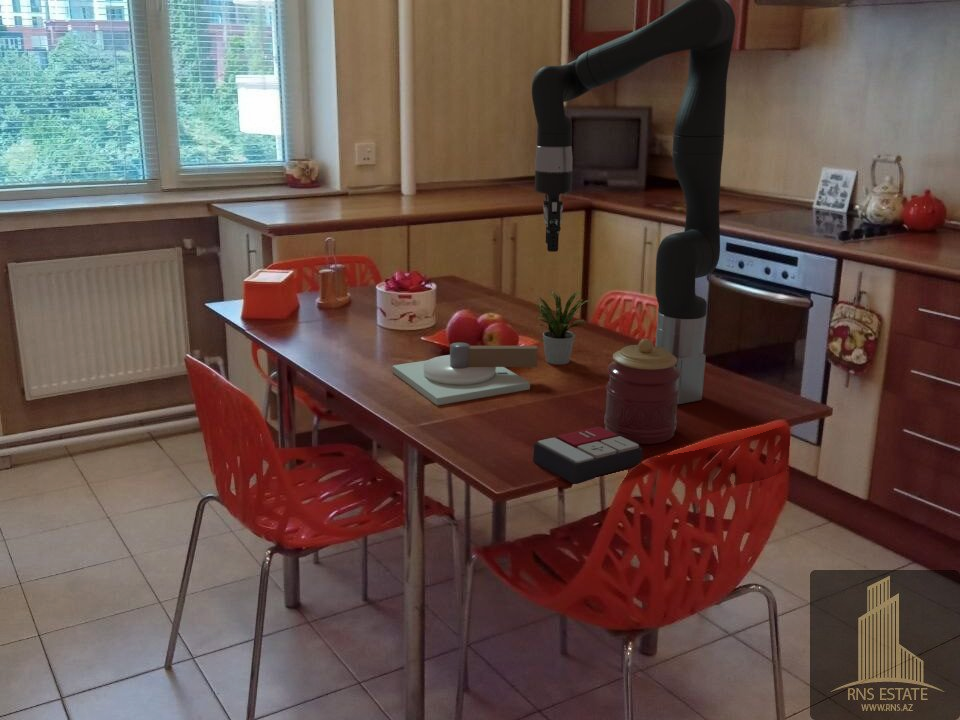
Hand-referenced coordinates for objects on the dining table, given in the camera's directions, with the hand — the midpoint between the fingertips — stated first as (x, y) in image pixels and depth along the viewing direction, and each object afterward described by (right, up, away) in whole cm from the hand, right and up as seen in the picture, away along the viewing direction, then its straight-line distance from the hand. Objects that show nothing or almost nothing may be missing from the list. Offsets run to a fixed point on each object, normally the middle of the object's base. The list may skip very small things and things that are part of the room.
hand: (551, 247), depth 196 cm
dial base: (-19, -28, 0) cm, 34 cm away
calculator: (+3, -41, -37) cm, 56 cm away
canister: (+14, -37, -25) cm, 46 cm away
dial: (-15, -26, 0) cm, 30 cm away
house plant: (+4, -24, +14) cm, 28 cm away
